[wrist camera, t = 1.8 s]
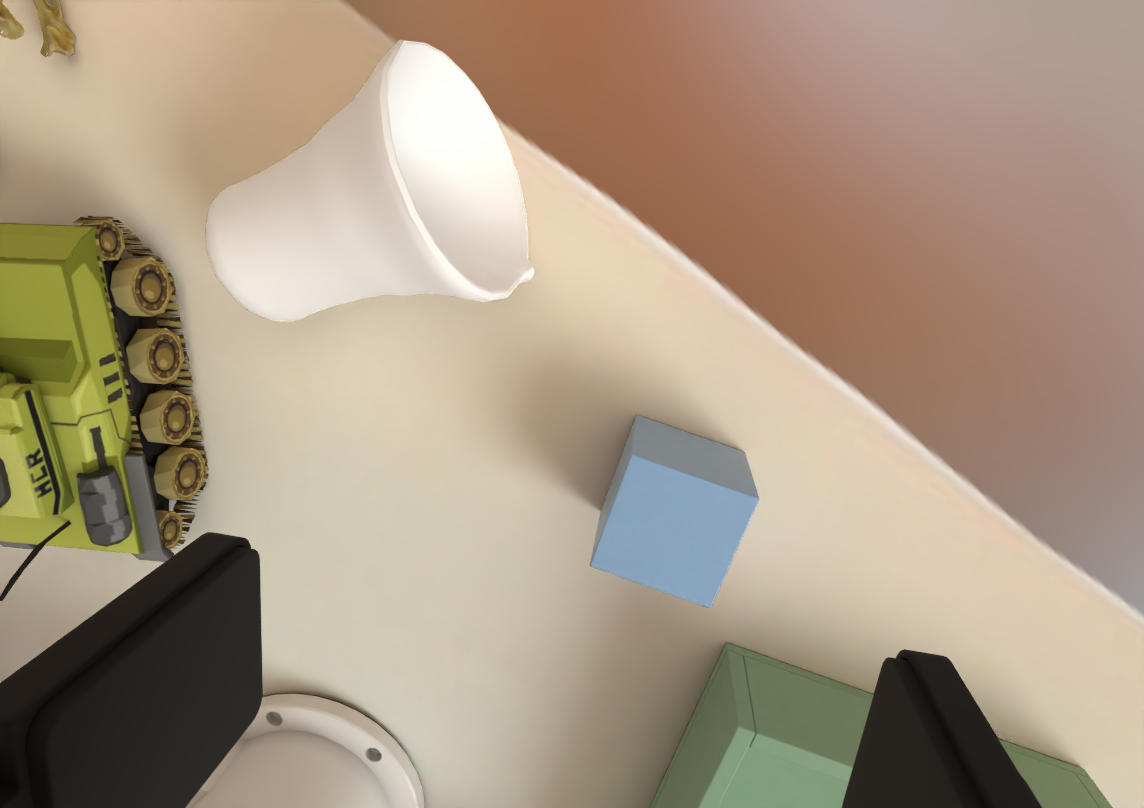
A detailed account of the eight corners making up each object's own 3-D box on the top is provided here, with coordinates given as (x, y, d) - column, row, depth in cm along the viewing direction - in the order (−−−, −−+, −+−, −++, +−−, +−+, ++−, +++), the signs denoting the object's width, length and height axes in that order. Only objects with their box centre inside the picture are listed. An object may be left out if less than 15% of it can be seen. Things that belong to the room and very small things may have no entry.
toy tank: (169, 210, 30) (-54, 244, 21) (224, 517, 35) (67, 653, 26) (-9, 203, 31) (-298, 234, 22) (71, 503, 36) (-133, 631, 27)
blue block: (600, 511, 32) (589, 566, 28) (636, 414, 31) (631, 454, 26) (704, 548, 32) (710, 609, 28) (745, 451, 31) (759, 499, 26)
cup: (296, 411, 28) (512, 355, 24) (108, 213, 23) (348, 99, 19) (374, 282, 34) (556, 221, 30) (241, 101, 29) (444, -2, 25)
